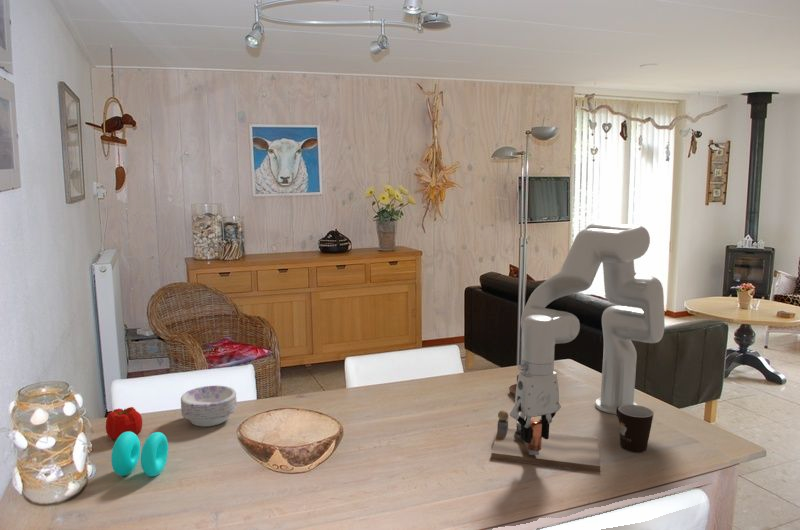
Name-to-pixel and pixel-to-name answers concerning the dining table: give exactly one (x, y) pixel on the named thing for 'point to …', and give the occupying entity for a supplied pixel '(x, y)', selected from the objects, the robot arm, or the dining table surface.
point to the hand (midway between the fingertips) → (534, 438)
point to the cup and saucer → (513, 388)
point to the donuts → (129, 453)
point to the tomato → (123, 422)
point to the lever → (533, 436)
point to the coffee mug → (634, 427)
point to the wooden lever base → (546, 449)
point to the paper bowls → (208, 405)
